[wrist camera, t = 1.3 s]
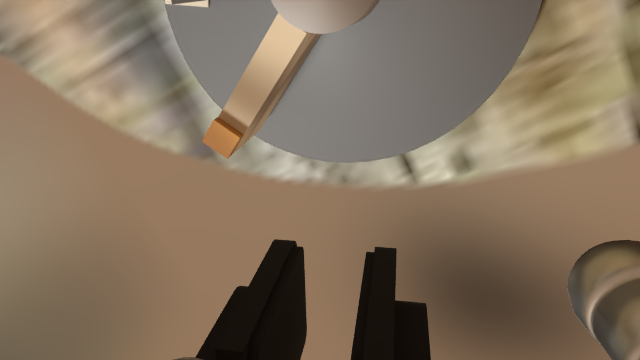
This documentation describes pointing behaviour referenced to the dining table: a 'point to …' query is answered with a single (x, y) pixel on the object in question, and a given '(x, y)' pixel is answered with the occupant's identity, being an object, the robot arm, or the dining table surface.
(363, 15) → the tan knob handle
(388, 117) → the dial base
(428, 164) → the dining table surface
